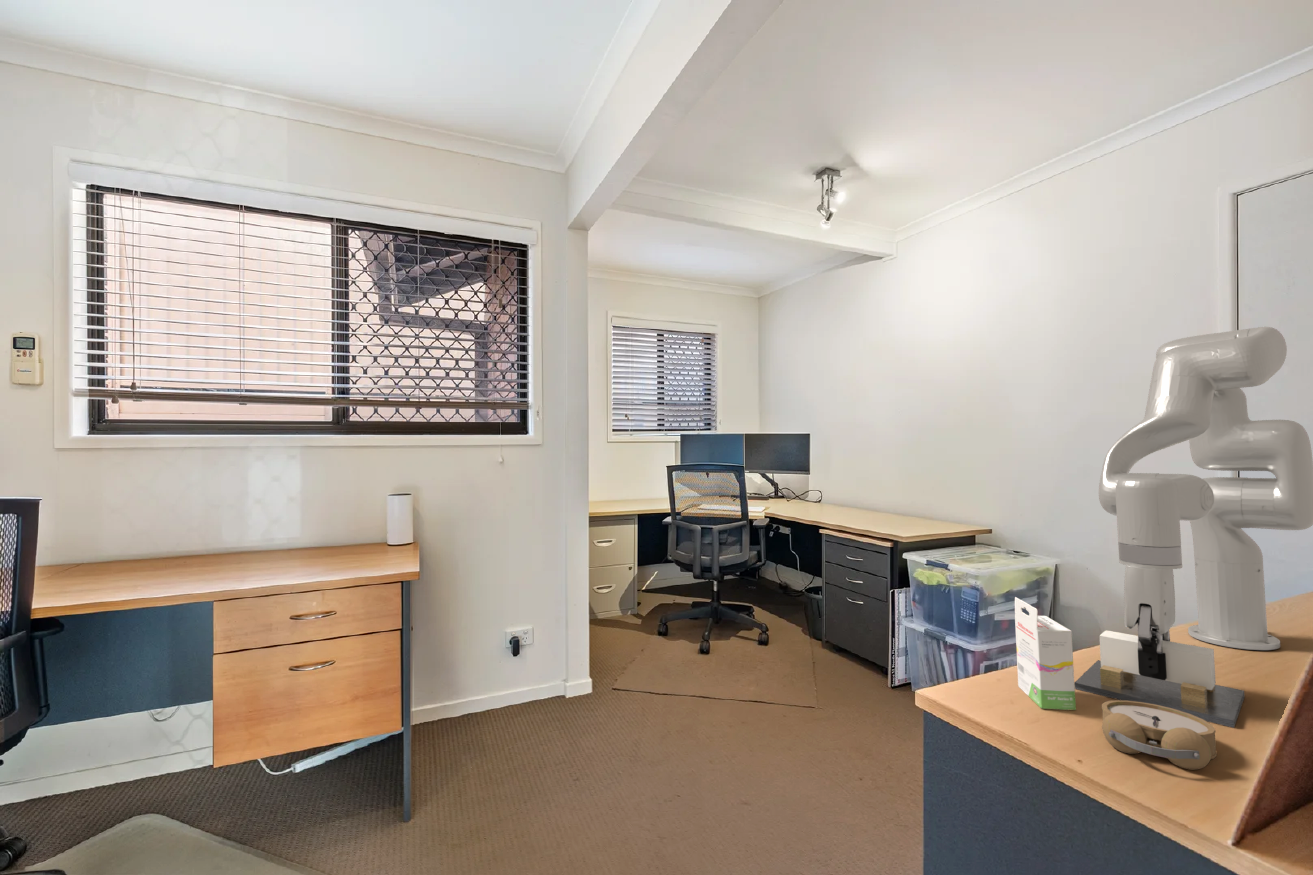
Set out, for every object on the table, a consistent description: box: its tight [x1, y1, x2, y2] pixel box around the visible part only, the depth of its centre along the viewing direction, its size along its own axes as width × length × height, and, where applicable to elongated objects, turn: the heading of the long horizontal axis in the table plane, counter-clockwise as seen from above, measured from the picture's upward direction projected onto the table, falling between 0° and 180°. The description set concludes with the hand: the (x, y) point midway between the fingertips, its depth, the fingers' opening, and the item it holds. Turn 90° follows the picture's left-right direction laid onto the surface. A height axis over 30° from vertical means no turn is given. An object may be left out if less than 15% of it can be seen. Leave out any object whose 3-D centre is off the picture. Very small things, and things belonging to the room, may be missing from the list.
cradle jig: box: [1074, 659, 1246, 729], centre depth 89 cm, size 14×18×4 cm
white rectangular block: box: [1098, 629, 1217, 690], centre depth 89 cm, size 4×13×5 cm, turn 40°
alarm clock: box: [1101, 699, 1218, 771], centre depth 73 cm, size 11×5×15 cm
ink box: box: [1014, 596, 1077, 711], centre depth 88 cm, size 9×5×15 cm, turn 168°
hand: (1155, 671), depth 89 cm, fingers closed on white rectangular block, 4 cm apart
